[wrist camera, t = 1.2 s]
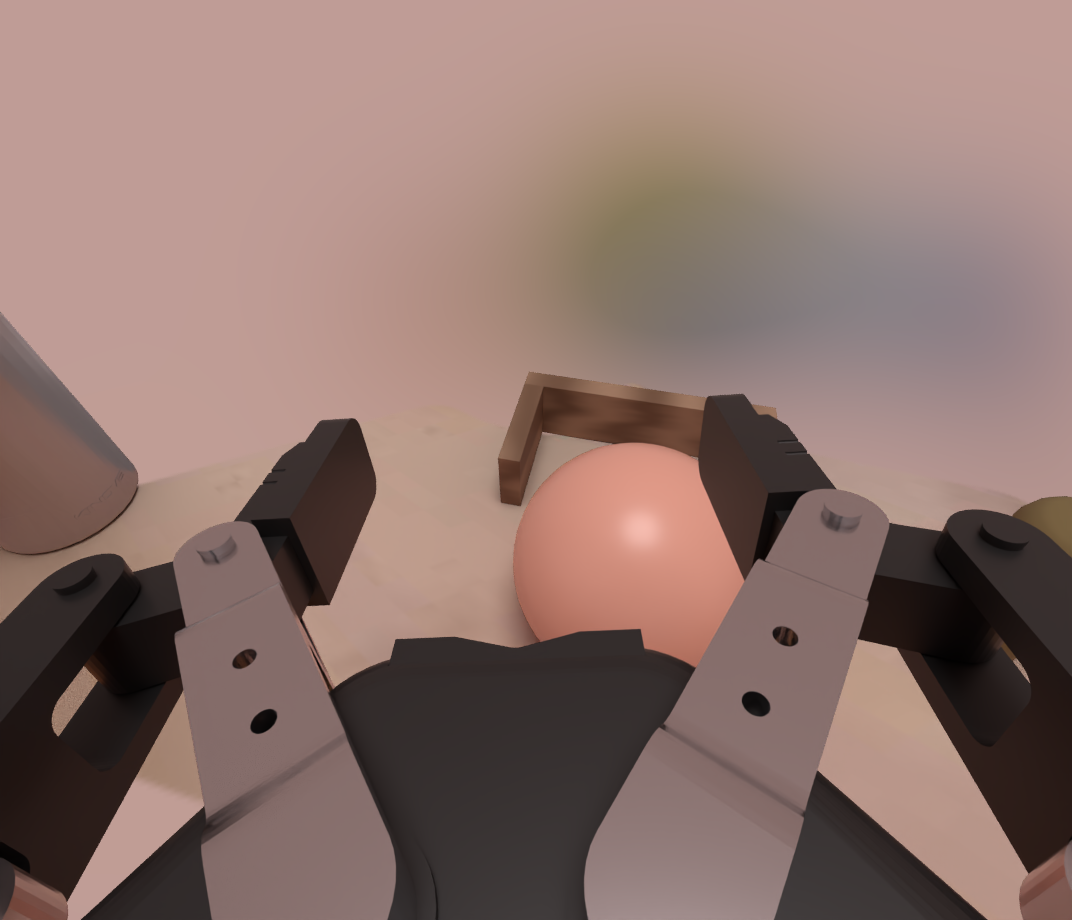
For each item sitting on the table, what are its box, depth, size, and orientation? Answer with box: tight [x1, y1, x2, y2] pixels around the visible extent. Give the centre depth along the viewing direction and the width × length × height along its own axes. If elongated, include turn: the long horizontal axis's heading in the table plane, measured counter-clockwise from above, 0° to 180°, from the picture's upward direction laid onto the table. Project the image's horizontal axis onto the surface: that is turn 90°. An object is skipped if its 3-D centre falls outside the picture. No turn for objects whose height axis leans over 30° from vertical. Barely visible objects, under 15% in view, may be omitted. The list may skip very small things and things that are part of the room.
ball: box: [513, 443, 745, 667], centre depth 28 cm, size 13×13×13 cm
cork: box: [1001, 496, 1072, 661], centre depth 29 cm, size 6×6×11 cm
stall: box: [498, 372, 777, 506], centre depth 39 cm, size 19×10×5 cm, turn 78°
